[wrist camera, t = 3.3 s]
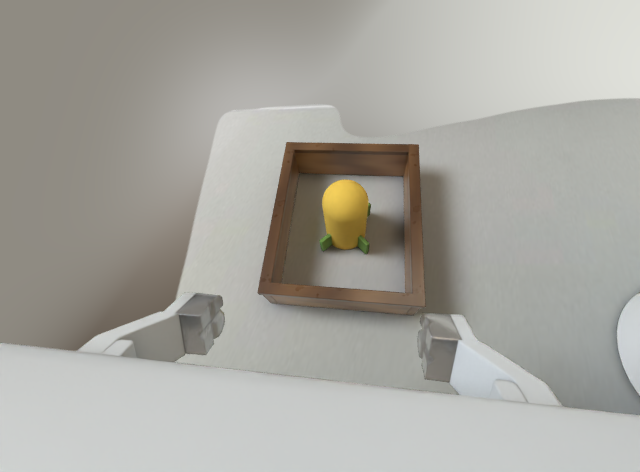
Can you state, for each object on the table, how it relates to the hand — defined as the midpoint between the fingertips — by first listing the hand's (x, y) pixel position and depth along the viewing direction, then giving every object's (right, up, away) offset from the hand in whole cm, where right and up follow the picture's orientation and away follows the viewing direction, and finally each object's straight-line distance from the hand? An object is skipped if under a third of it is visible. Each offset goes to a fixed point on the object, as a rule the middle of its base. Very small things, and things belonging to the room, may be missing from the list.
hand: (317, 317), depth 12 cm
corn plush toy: (+3, +4, +22) cm, 23 cm away
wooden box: (+3, +4, +22) cm, 23 cm away
